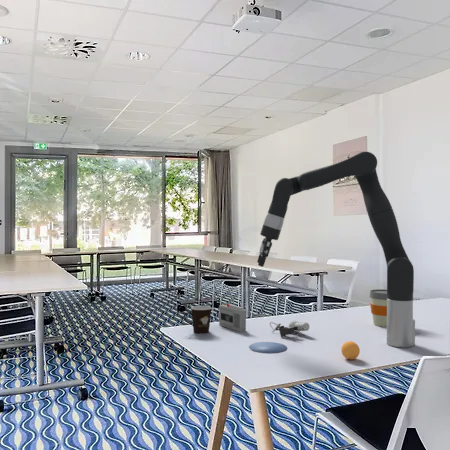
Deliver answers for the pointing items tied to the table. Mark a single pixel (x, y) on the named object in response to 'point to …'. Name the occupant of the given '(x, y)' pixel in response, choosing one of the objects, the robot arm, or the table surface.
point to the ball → (350, 350)
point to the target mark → (268, 347)
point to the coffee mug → (200, 318)
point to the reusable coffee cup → (379, 306)
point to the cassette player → (232, 317)
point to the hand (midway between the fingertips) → (260, 264)
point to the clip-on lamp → (292, 328)
